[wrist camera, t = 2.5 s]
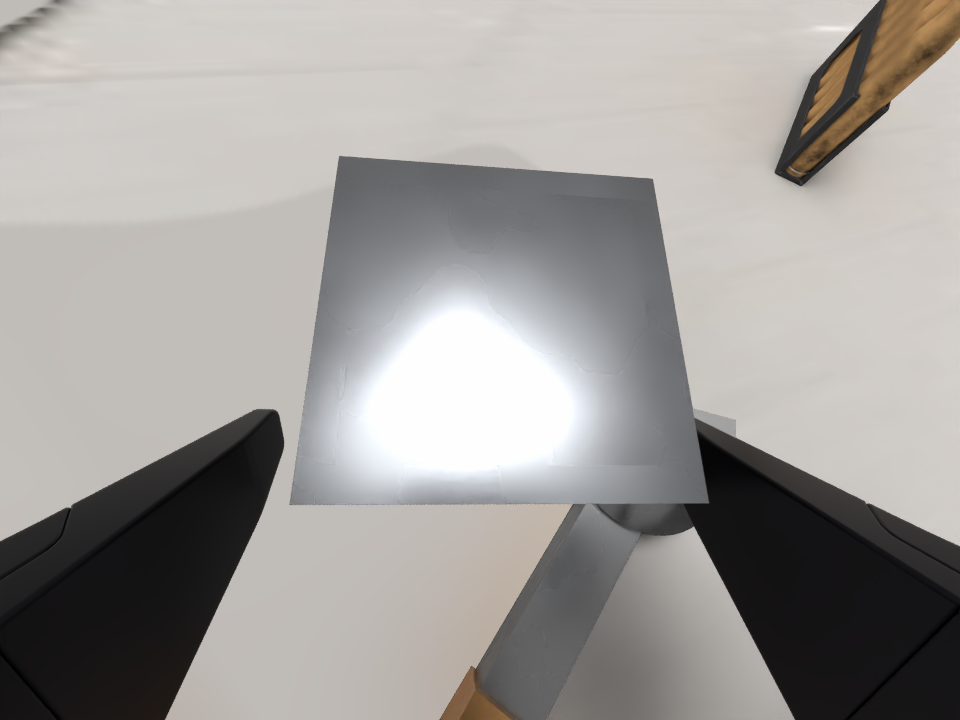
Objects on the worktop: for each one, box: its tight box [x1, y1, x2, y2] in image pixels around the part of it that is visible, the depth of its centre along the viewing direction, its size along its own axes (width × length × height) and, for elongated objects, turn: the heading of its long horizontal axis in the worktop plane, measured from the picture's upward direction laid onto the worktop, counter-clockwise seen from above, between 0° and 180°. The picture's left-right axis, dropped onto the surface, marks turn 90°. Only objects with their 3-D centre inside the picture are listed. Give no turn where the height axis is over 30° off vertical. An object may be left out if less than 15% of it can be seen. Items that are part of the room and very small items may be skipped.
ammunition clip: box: [775, 0, 960, 186], centre depth 21 cm, size 11×2×12 cm, turn 150°
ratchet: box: [440, 409, 736, 720], centre depth 14 cm, size 22×6×5 cm, turn 144°
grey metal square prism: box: [290, 156, 709, 505], centre depth 12 cm, size 6×6×12 cm
